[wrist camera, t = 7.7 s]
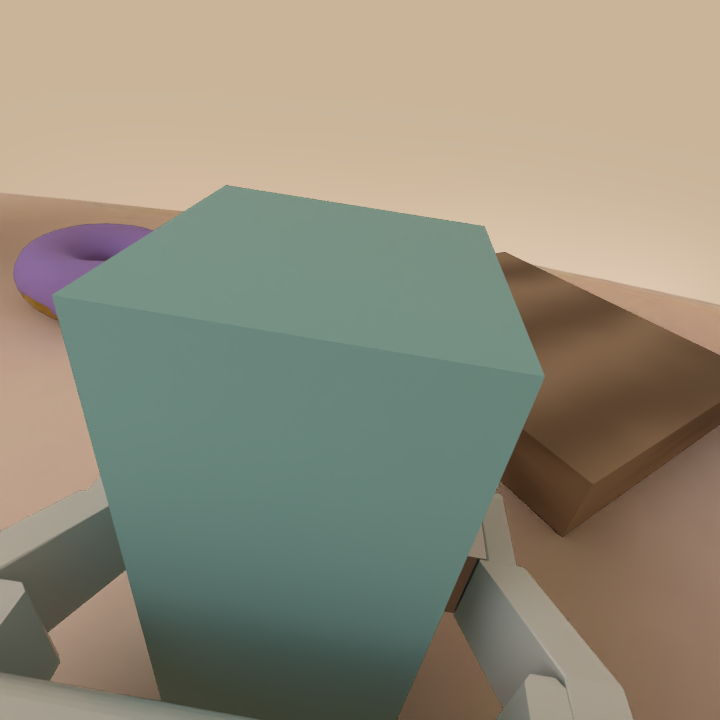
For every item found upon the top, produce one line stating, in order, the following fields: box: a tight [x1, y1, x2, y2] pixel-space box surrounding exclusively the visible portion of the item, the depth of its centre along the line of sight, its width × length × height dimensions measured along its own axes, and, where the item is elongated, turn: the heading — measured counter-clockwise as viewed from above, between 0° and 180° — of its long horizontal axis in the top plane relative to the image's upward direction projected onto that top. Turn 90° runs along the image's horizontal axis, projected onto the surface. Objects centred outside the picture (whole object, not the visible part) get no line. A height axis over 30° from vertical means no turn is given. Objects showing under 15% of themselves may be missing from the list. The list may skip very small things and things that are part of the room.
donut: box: [13, 224, 153, 320], centre depth 28 cm, size 10×9×5 cm
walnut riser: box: [495, 252, 720, 536], centre depth 27 cm, size 18×16×3 cm
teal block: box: [52, 185, 545, 720], centre depth 9 cm, size 4×4×12 cm
